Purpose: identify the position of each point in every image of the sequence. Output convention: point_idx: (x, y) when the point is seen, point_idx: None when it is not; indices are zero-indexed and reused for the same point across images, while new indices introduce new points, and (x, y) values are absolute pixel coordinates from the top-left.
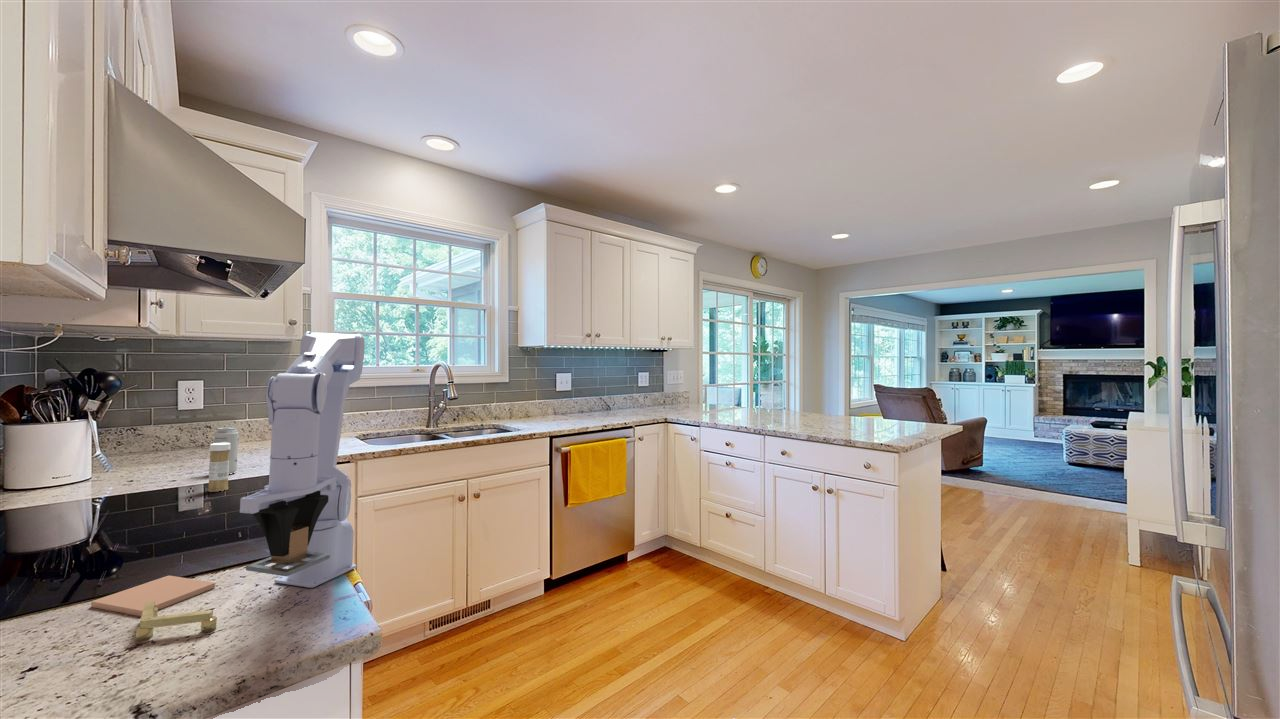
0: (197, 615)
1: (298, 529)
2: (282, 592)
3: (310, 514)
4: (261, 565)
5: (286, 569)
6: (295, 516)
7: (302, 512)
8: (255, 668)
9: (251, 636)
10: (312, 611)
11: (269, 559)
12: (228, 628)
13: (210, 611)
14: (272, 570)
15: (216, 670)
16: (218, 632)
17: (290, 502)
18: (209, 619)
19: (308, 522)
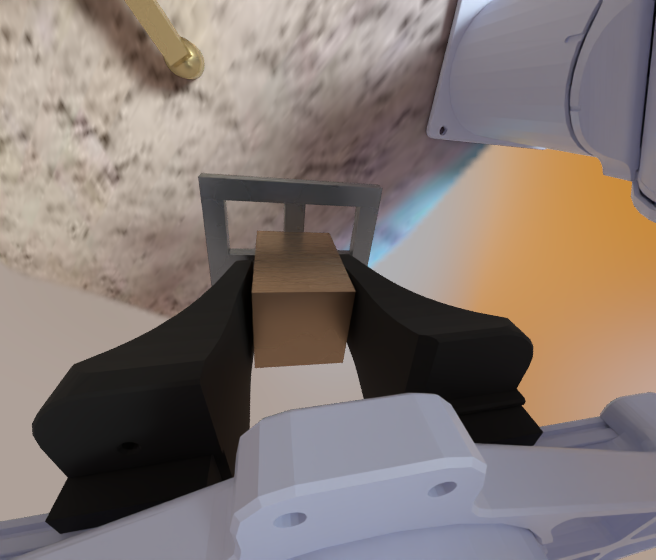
0: (147, 33)
1: (298, 363)
2: (405, 66)
3: (368, 397)
4: (224, 224)
5: None
6: (370, 326)
7: (374, 372)
8: (141, 291)
9: None
10: (326, 223)
11: (277, 201)
12: (213, 109)
13: (178, 56)
14: (211, 283)
15: (102, 241)
16: (190, 102)
17: (404, 355)
18: (175, 67)
19: (358, 361)
